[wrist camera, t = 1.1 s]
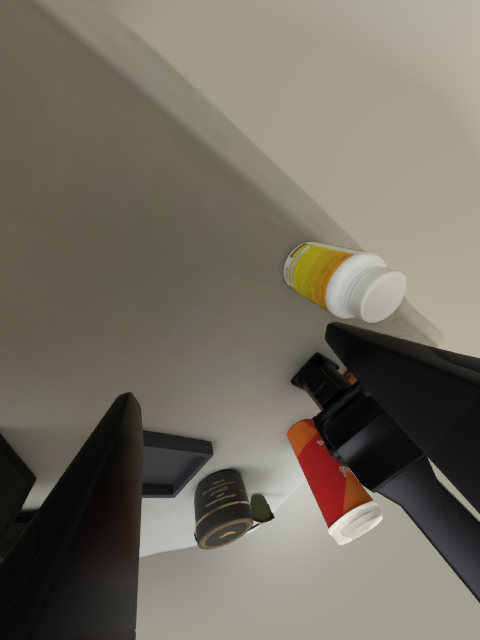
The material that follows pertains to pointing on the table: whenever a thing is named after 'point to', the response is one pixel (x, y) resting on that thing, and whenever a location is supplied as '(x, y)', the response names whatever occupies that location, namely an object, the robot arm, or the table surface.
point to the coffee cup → (333, 486)
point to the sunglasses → (259, 510)
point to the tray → (171, 463)
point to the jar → (221, 509)
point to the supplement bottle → (345, 281)
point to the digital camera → (12, 487)
